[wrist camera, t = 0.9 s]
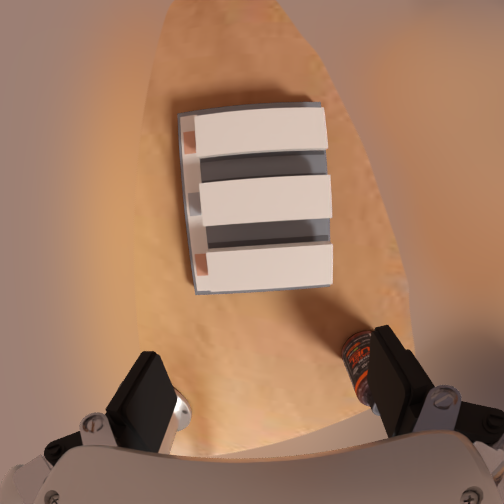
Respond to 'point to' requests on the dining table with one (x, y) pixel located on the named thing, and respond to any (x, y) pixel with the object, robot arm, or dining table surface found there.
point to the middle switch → (266, 199)
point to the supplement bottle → (359, 366)
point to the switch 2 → (270, 266)
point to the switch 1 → (260, 131)
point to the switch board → (237, 169)
